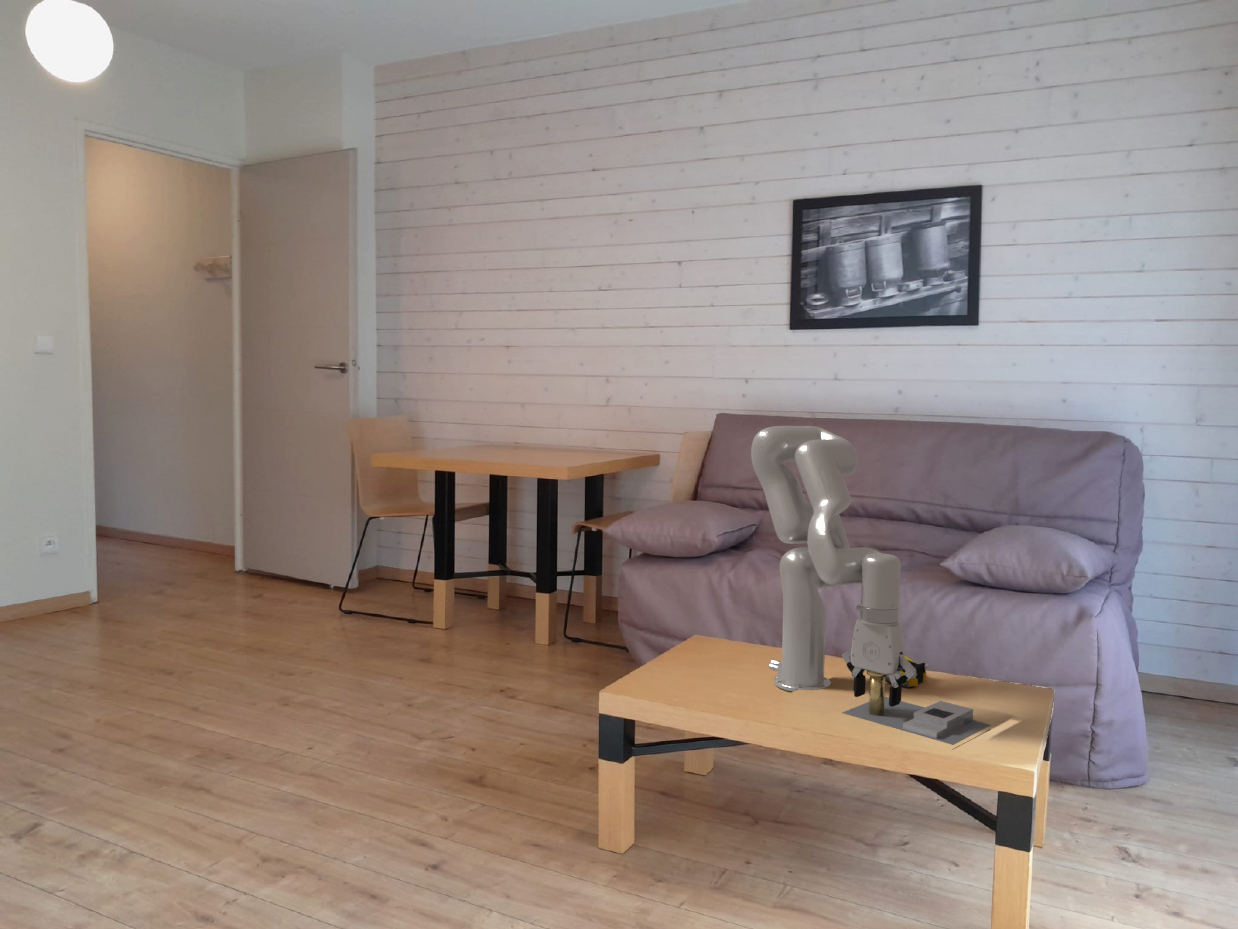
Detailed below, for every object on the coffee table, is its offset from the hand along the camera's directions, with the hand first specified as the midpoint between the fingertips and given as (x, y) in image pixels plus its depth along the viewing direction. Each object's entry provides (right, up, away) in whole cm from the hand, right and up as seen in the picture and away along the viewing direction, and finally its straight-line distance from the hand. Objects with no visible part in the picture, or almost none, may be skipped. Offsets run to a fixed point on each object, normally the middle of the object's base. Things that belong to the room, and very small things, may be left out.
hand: (876, 699), depth 194 cm
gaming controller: (+13, -3, +26) cm, 29 cm away
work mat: (+7, -4, -3) cm, 9 cm away
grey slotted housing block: (+10, -3, -6) cm, 13 cm away
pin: (0, -3, 0) cm, 3 cm away
